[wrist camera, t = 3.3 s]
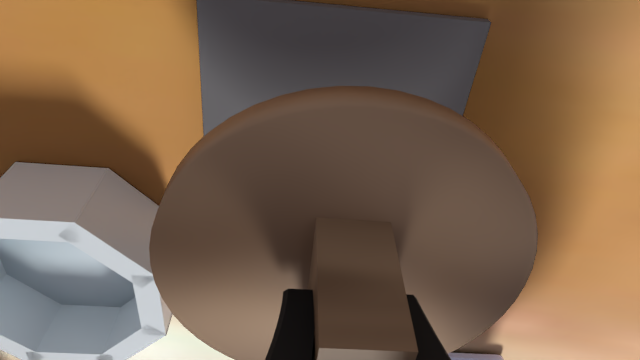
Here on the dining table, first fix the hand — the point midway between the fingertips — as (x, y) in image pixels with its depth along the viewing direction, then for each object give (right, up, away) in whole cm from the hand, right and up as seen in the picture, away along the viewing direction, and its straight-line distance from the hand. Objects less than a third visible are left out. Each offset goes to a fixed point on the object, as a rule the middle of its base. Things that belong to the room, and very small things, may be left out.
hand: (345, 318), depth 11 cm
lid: (0, +1, +2) cm, 2 cm away
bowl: (-12, 0, +11) cm, 16 cm away
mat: (0, +5, +7) cm, 9 cm away
